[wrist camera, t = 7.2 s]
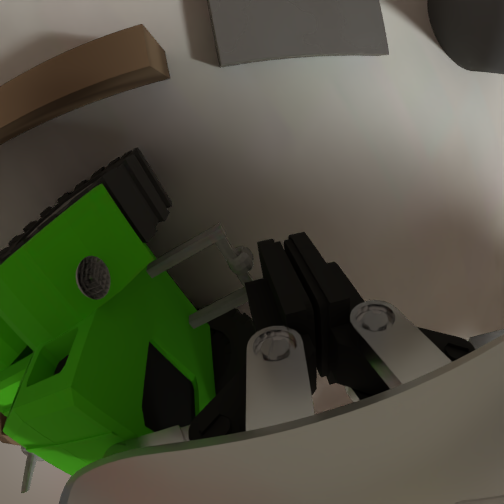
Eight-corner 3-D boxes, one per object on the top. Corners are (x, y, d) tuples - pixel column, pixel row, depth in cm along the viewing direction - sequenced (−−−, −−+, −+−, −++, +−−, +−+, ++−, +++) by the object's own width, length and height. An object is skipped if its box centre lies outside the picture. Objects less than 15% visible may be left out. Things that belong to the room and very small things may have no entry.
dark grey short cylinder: (483, -7, 9) (548, -10, 4) (497, 76, 12) (565, 88, 7) (417, -29, 9) (488, -51, 4) (436, 66, 12) (515, 71, 7)
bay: (164, 51, 10) (141, 24, 6) (243, 368, 18) (256, 436, 14) (-94, 188, 9) (-143, 221, 5) (19, 392, 18) (2, 442, 13)
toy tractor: (-31, 284, 13) (-109, 402, 4) (179, 113, 12) (110, 159, 3) (79, 395, 18) (57, 519, 10) (289, 303, 17) (357, 474, 8)
